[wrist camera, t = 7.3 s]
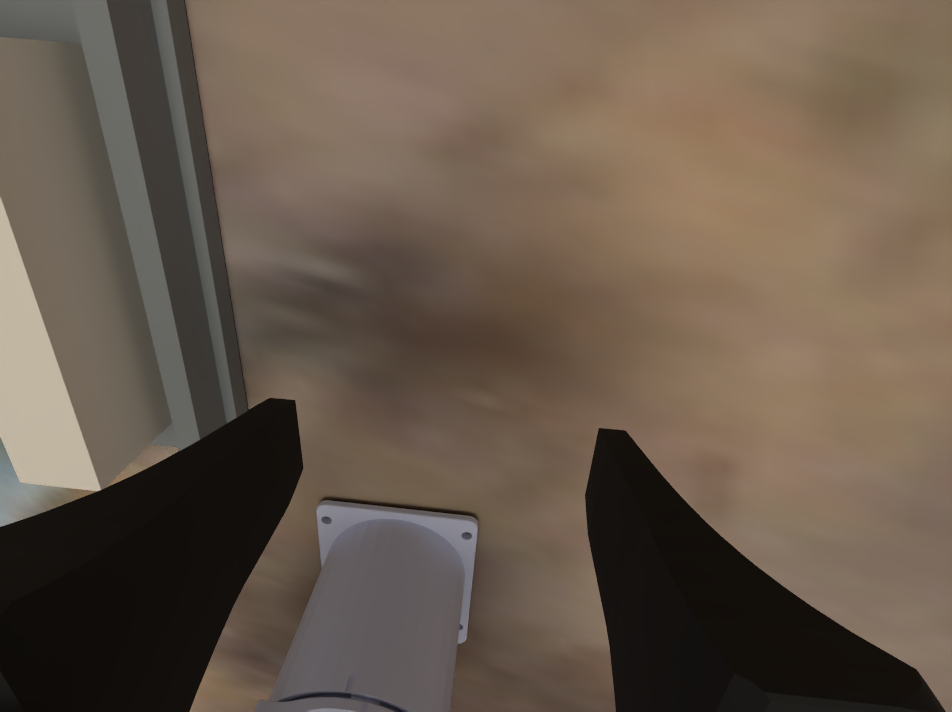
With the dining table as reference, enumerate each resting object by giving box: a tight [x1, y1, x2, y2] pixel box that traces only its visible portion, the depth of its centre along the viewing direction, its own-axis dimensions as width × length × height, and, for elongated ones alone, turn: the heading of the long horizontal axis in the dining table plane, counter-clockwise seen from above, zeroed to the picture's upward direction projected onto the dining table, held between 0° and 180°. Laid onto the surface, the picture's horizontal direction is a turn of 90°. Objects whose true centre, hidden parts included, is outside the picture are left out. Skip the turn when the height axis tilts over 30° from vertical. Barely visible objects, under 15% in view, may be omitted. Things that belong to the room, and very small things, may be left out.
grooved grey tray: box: [0, 0, 248, 451], centre depth 20 cm, size 18×14×3 cm
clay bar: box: [0, 37, 172, 491], centre depth 18 cm, size 14×3×5 cm, turn 176°
